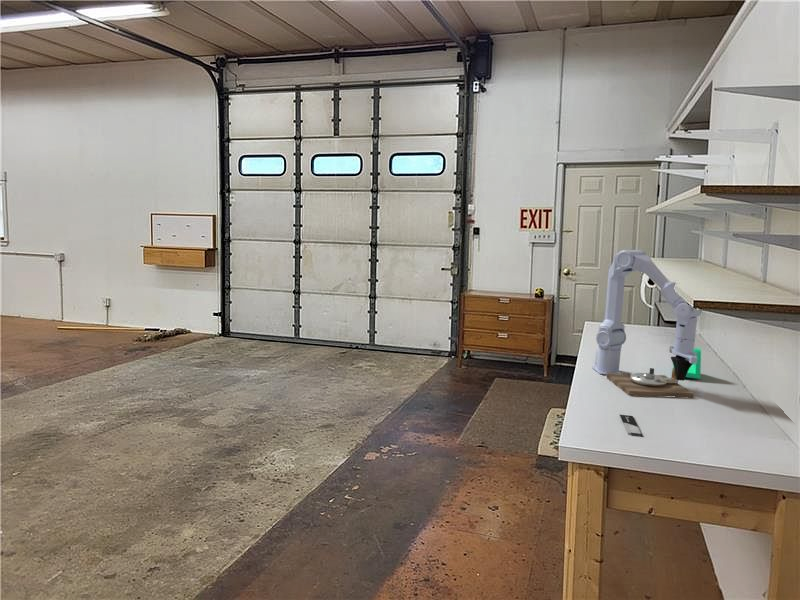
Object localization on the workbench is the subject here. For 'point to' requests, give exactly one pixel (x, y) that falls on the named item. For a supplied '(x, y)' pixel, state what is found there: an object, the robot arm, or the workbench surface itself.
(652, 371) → the dowel pin
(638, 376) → the flange plate
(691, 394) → the fixture board
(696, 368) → the camera mount
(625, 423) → the computer memory module
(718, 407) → the workbench surface
